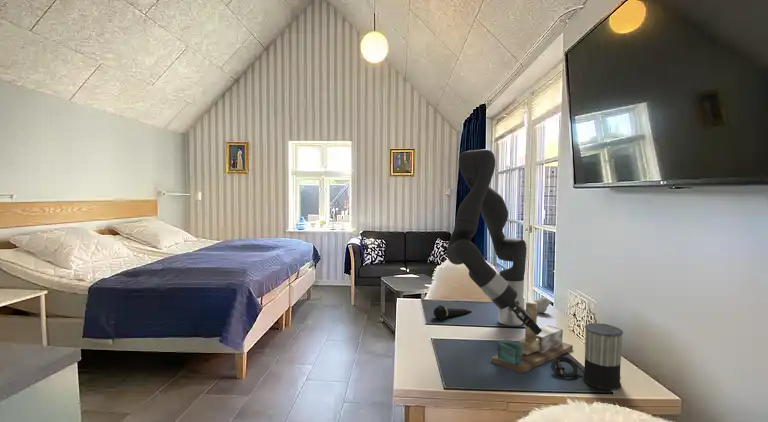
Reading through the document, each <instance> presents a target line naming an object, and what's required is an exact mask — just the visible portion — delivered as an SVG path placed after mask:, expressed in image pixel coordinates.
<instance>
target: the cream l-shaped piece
mask: <svg viewBox="0 0 768 422" xmlns="http://www.w3.org/2000/svg"><path fill="white" fill-rule="evenodd" d="M525 310H526V311H527V313H528V314H529V317H530V318H531V319H533V321H534V323H535V324H536V325H538V324H537V319H538V318H537V317H538V316H537V315H538V312H537V303H536V302H533V301H525ZM528 321H529V319H528V320H527V321H526V323H527V322H528ZM524 325H525V324H524ZM524 328H525V329H524V330H525V332H524V335H525V336H524V338H521V339H518V340H517V343H520V344H522V353H523V354H526V355H528V354H531V353H533V352H536V351H538V350H540V349H541V338H539V337H536V334H535V333H534V332H533V331H532V330H531V329H530V328H529V327H526V325H525V327H524Z"/></svg>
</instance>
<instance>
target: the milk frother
mask: <svg viewBox="0 0 768 422" xmlns="http://www.w3.org/2000/svg"><path fill="white" fill-rule="evenodd" d="M584 329H585V341H584V342H585V343H584V344H585V345H584V349H585V350H584V369H582V368H581V367H580V366H579V365H578V364H577V363H576V362H575V361H573V360H572V359H571V358H569V357H567V356H558V357H556V358H554V359H552V361H551V362H550V368H551V370H552V372H553V373H554V374H555V375H557V376H559V377H562V378H563V377H564V378H573V377H576V376H577V374H578V372H579V370H580V371H581V372H582V373H583V375H582V380H583V381H584V382H585V383H586V384H588V385H590V386H592V387H594V388H598V389H602V390H608V391H611V390H612V391H613V390H618V389H620V388H621V387H622V383H621V364H622V363H621V361H622V343H623V341H622V340H623V334H624V331H623V330H622V329H621V328H619V327H617V326H614V325H610V324H605V323H597V322H596V323H595V322H593V323H588V324H585V325H584ZM563 362H564V363H566V364H568V365H570V366H571V368H572V371H571V372H565V366H564V365H563V364H562V363H563Z"/></svg>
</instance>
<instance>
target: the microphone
mask: <svg viewBox="0 0 768 422" xmlns="http://www.w3.org/2000/svg"><path fill="white" fill-rule="evenodd" d="M472 312H473V311H472V310H470V309H465V308H452V307H445V306H444V305H438V306H436V307H434V309H433V316H434V317H435V318H436V319H438V320H440V319H441V320H444V319H446V318H452V317H454V316H455V317H456V316H461V315H462V316H463V315H467V314H471V313H472ZM441 320H440V321H441Z"/></svg>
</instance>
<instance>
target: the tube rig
mask: <svg viewBox="0 0 768 422" xmlns="http://www.w3.org/2000/svg"><path fill="white" fill-rule="evenodd" d="M539 328H540V329H541V330H542V332H541V333H539V334H538V335H536V337H539V338H541V349H540V350H538V351H536V352H533V353H531V354H528V355H526V354H523V353H522V344H520V343H518V341H513V340H511V339H508V338H502V339H499V340H497V354H496V355H493V356H491V363H493V364H495V365H499V366H501V367H504V368H506V369H509V370H511V371H514V372H516V373H518V374H523V373H526V372H527V371H531V370H532V369H534V368H537V367H538V366H540V365H543V364H545V363H547V362H549V361H551V360H552V361H553V359H555V358H557V357H561V356H562V355H564V354H567V353H569V352H571V351H573V350H574V348H573V347H574V346H573V344H570V343H566V342H563V332H564V329H562V328H559V327H556V326H552V325H546V326H543V327H539Z"/></svg>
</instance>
